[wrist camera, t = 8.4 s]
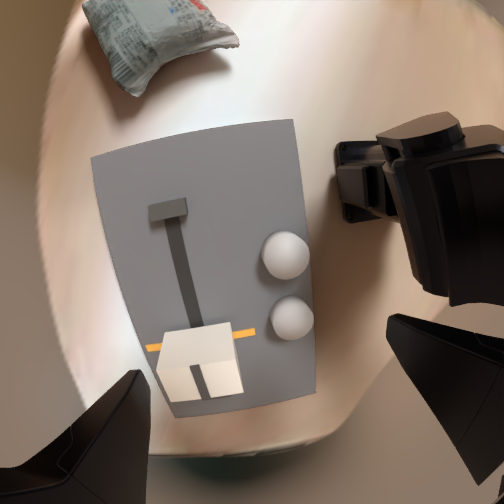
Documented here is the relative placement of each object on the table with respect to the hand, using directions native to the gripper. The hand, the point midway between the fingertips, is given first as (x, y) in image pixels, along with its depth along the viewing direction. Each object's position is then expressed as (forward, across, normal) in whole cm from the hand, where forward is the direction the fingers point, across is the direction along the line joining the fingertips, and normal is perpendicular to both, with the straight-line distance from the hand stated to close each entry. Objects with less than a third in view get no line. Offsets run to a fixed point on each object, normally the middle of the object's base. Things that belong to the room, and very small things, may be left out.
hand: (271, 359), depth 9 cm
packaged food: (+13, +3, -19) cm, 24 cm away
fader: (+10, +4, +6) cm, 13 cm away
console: (+13, +2, +3) cm, 13 cm away
